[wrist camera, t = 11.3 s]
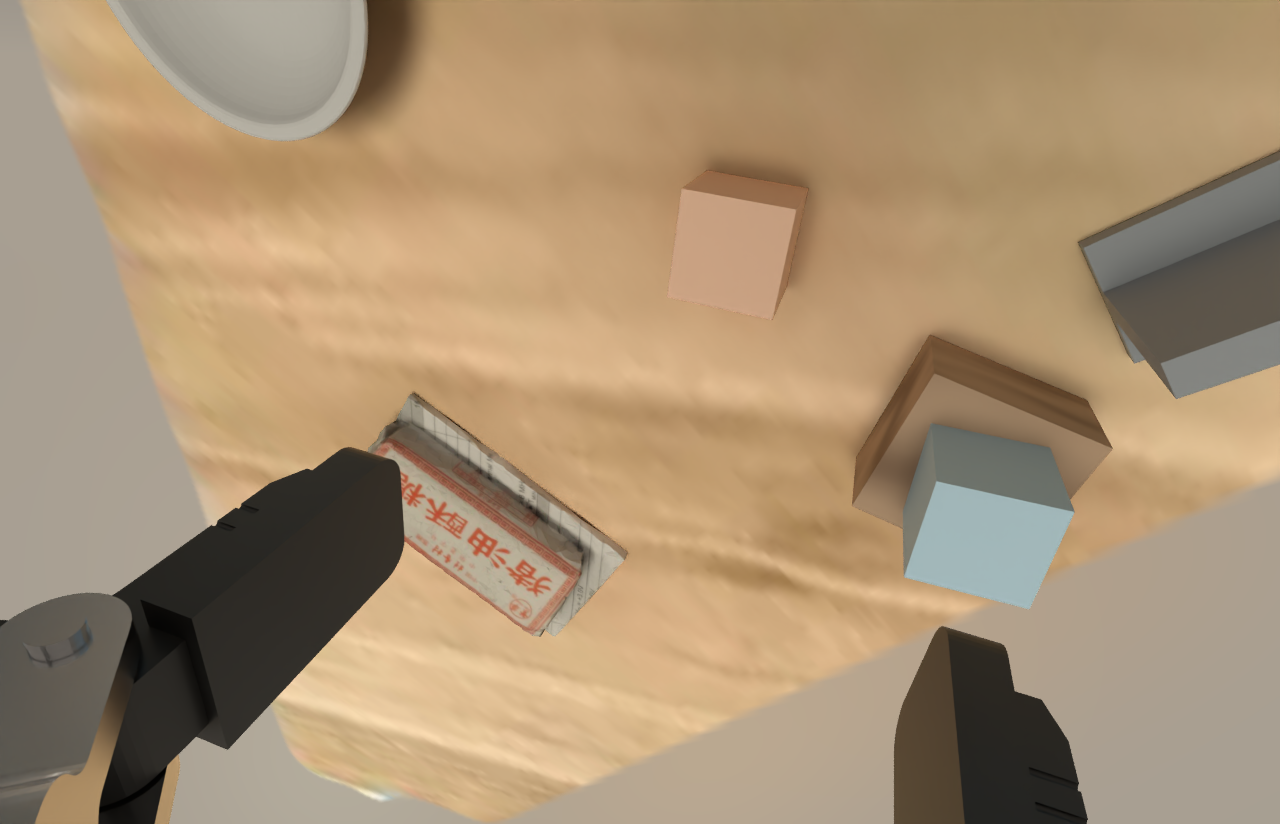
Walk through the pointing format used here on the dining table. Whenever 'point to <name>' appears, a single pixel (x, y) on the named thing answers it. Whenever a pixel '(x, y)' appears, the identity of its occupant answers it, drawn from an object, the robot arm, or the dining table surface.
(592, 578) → the packaged product
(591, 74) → the dining table surface
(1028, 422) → the walnut block
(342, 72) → the dish
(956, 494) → the blue block
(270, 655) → the robot arm
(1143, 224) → the display stand
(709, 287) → the terracotta block
